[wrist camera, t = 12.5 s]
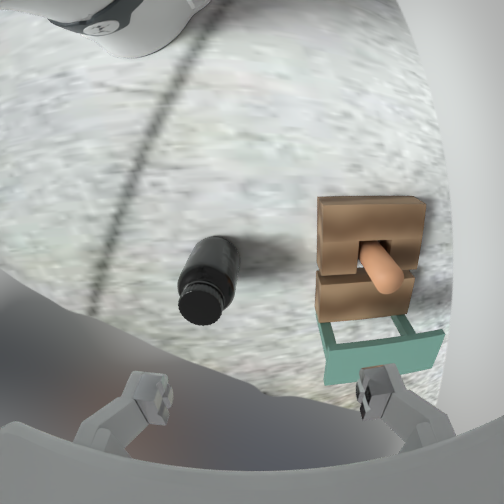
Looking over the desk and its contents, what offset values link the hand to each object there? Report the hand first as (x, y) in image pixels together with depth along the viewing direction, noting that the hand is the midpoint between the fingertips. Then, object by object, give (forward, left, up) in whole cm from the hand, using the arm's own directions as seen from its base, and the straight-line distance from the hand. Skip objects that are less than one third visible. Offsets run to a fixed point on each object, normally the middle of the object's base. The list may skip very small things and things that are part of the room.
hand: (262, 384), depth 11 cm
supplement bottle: (+8, -7, -29) cm, 31 cm away
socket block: (+9, +14, -29) cm, 33 cm away
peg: (+7, +14, -29) cm, 33 cm away
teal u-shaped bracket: (+16, +14, -29) cm, 36 cm away
